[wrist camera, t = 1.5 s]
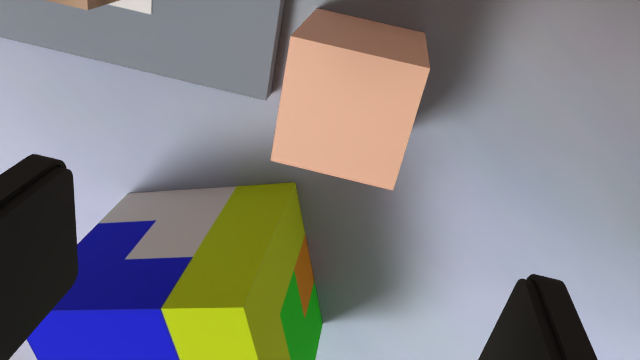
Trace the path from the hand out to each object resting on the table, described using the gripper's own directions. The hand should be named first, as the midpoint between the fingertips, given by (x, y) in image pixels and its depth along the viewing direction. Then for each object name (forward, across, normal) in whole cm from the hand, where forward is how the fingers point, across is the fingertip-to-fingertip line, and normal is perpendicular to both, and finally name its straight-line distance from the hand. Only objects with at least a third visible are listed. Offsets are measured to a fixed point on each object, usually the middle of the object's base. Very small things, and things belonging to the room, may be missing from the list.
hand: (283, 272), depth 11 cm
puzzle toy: (+16, +4, +13) cm, 21 cm away
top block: (+16, 0, 0) cm, 16 cm away
